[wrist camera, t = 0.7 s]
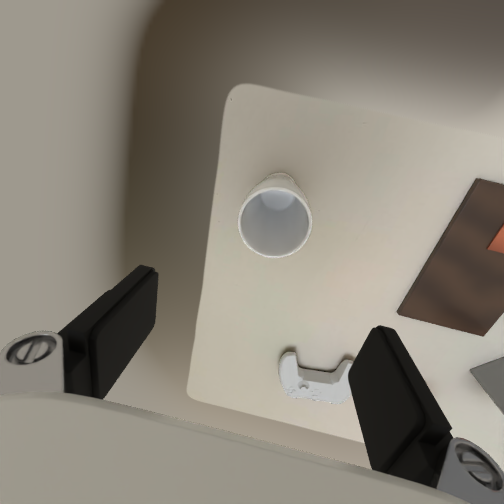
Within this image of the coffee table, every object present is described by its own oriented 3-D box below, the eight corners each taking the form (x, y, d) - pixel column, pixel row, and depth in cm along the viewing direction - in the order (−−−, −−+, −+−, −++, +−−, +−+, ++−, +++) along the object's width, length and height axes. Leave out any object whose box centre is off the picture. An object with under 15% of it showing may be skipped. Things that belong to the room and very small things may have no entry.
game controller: (365, 367, 43) (354, 416, 45) (357, 352, 47) (348, 397, 50) (281, 355, 44) (275, 403, 47) (281, 341, 49) (275, 386, 51)
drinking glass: (310, 174, 34) (325, 199, 21) (293, 220, 37) (297, 268, 24) (262, 160, 34) (247, 175, 21) (249, 207, 37) (228, 247, 24)
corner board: (477, 176, 32) (482, 177, 31) (588, 203, 32) (597, 205, 31) (396, 312, 42) (398, 315, 41) (481, 333, 41) (485, 338, 40)
